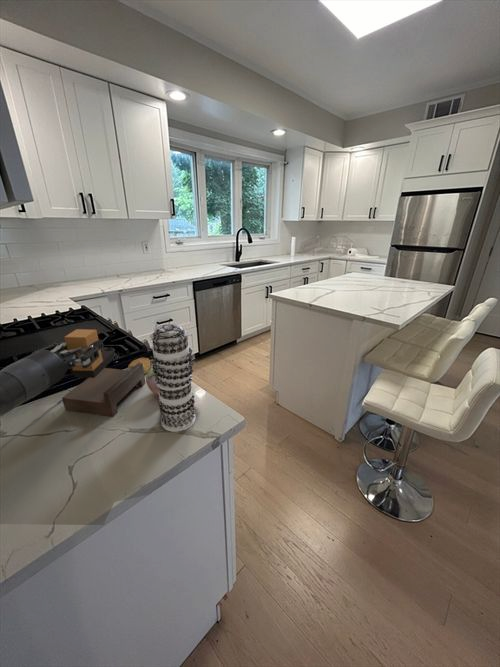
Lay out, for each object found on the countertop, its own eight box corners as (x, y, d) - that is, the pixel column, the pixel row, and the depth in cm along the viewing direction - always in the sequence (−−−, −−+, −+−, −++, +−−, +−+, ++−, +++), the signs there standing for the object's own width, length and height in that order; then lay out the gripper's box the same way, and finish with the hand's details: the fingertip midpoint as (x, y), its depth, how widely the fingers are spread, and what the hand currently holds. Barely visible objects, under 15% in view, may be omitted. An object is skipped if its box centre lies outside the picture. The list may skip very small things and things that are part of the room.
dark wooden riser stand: (65, 410, 73) (58, 387, 70) (104, 378, 88) (100, 359, 85) (113, 416, 71) (108, 393, 68) (145, 383, 85) (142, 363, 83)
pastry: (135, 362, 98) (134, 352, 96) (155, 362, 98) (153, 352, 96) (125, 376, 89) (124, 366, 87) (147, 376, 89) (145, 365, 88)
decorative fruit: (166, 382, 86) (162, 353, 82) (185, 389, 82) (182, 360, 79) (141, 397, 79) (135, 366, 75) (161, 406, 75) (157, 374, 71)
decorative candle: (199, 429, 67) (192, 334, 57) (159, 436, 65) (145, 338, 55) (196, 406, 75) (189, 319, 66) (160, 411, 73) (148, 322, 63)
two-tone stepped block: (94, 377, 69) (85, 337, 65) (74, 377, 69) (64, 336, 65) (114, 357, 79) (108, 321, 75) (97, 357, 79) (89, 321, 75)
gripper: (57, 362, 53) (113, 330, 68) (-5, 355, 55) (62, 326, 70) (67, 395, 56) (118, 357, 71) (7, 387, 58) (69, 352, 73)
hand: (90, 342), depth 71 cm, fingers closed on two-tone stepped block, 5 cm apart
